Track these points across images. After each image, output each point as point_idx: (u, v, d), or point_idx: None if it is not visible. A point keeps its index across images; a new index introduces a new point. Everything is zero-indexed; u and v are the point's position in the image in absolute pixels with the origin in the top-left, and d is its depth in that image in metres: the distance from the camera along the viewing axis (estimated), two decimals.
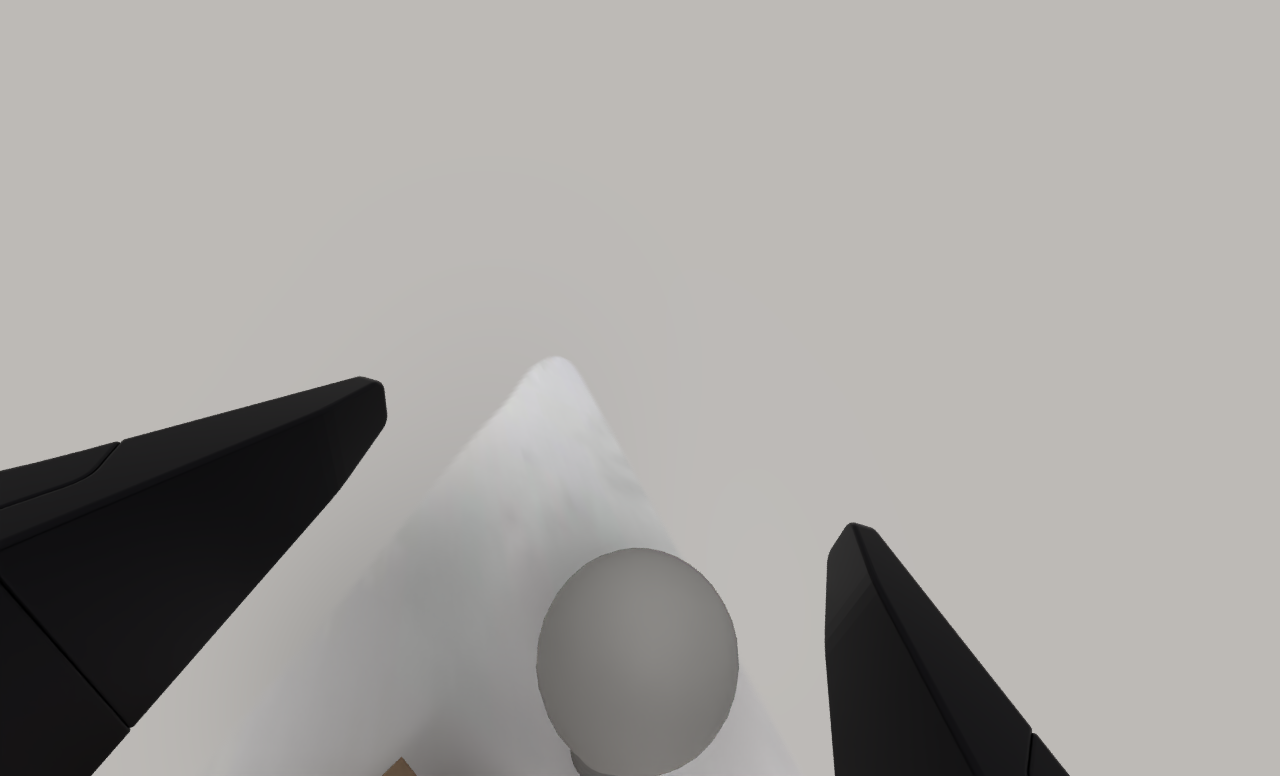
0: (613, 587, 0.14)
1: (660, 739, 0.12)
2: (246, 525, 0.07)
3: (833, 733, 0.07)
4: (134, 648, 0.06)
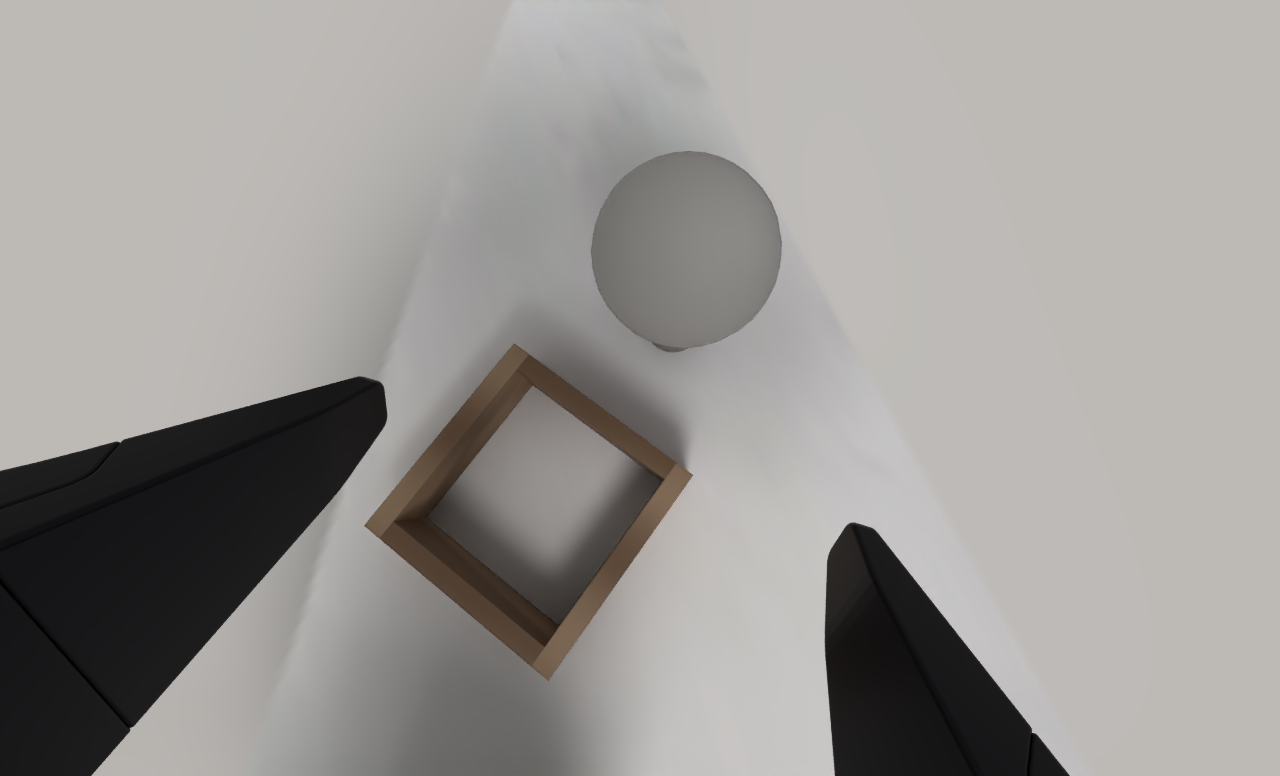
0: (648, 198, 0.14)
1: (701, 321, 0.14)
2: (246, 525, 0.07)
3: (833, 733, 0.07)
4: (134, 648, 0.06)
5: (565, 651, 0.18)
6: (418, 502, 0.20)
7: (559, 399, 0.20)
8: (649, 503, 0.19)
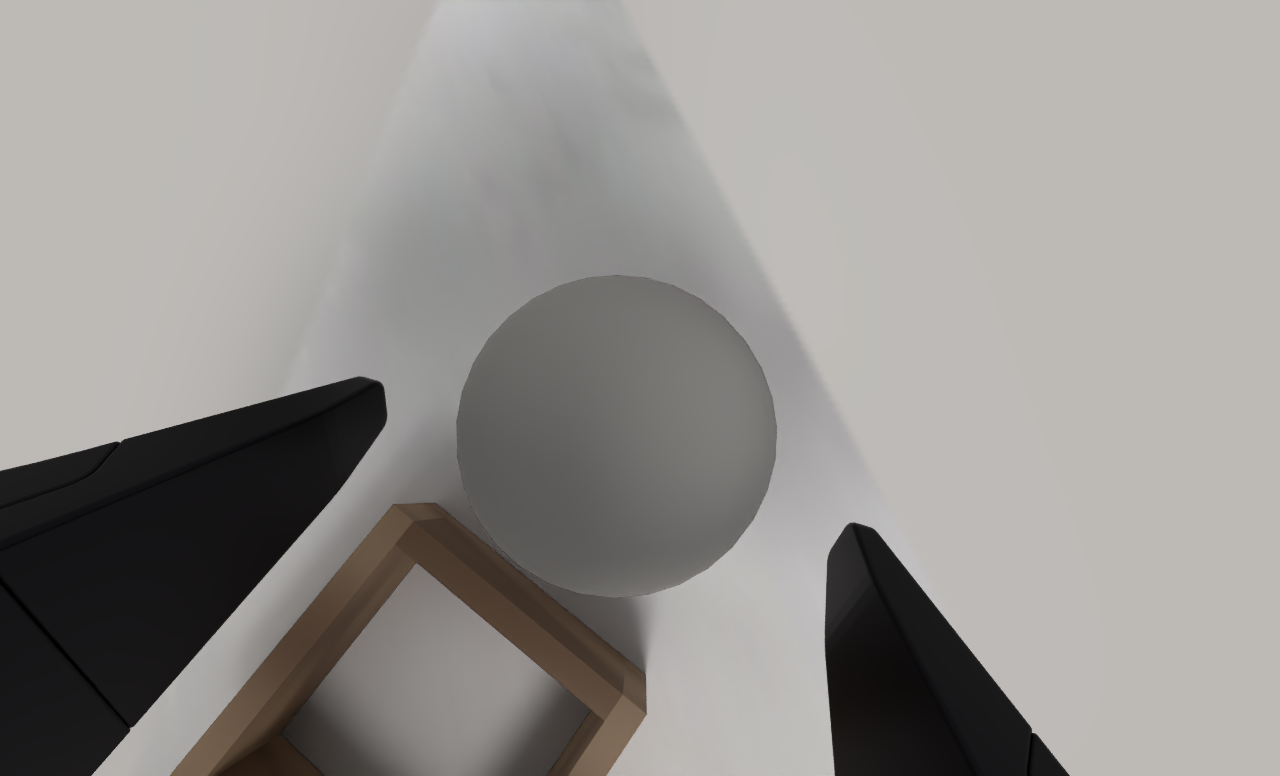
0: (525, 390, 0.07)
1: (632, 590, 0.08)
2: (246, 525, 0.07)
3: (833, 733, 0.07)
4: (134, 648, 0.06)
5: None
6: (248, 741, 0.14)
7: (454, 591, 0.14)
8: (580, 760, 0.13)
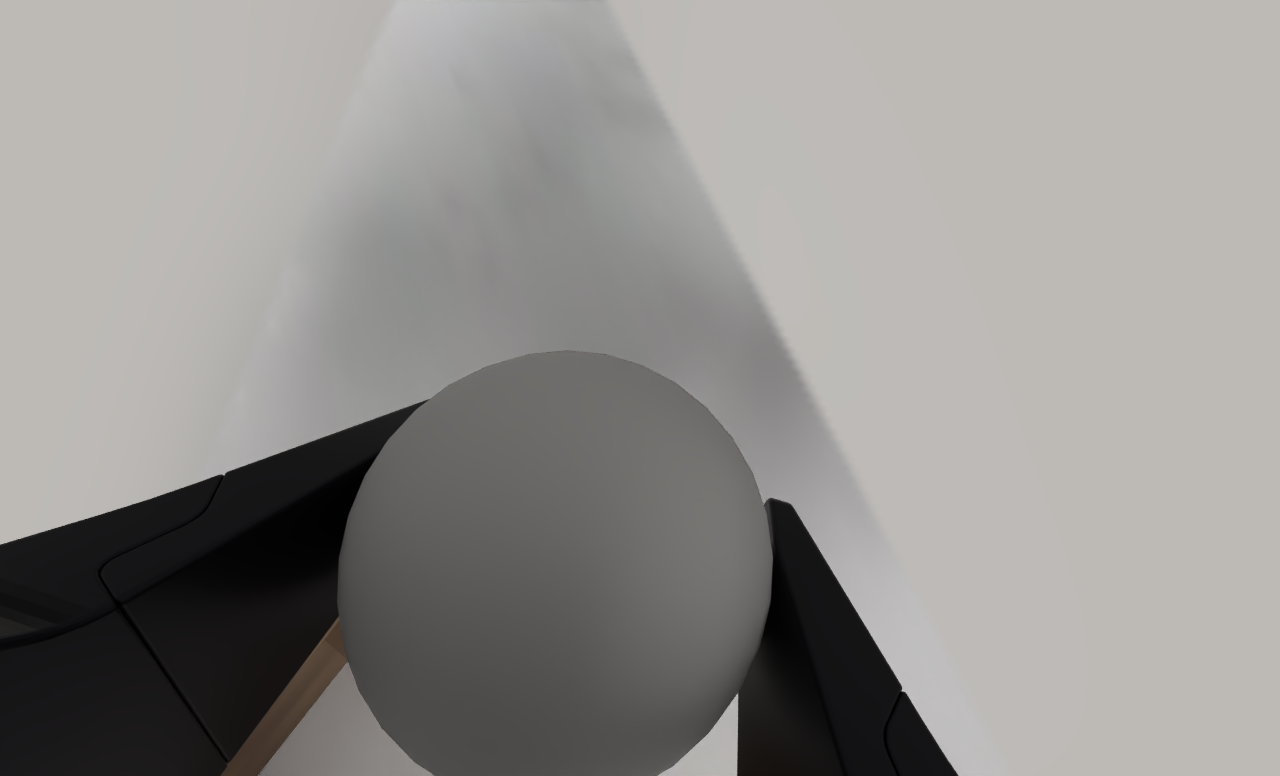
0: (404, 551, 0.05)
1: None
2: (337, 554, 0.07)
3: (739, 702, 0.07)
4: (238, 684, 0.06)
5: None
6: None
7: None
8: None
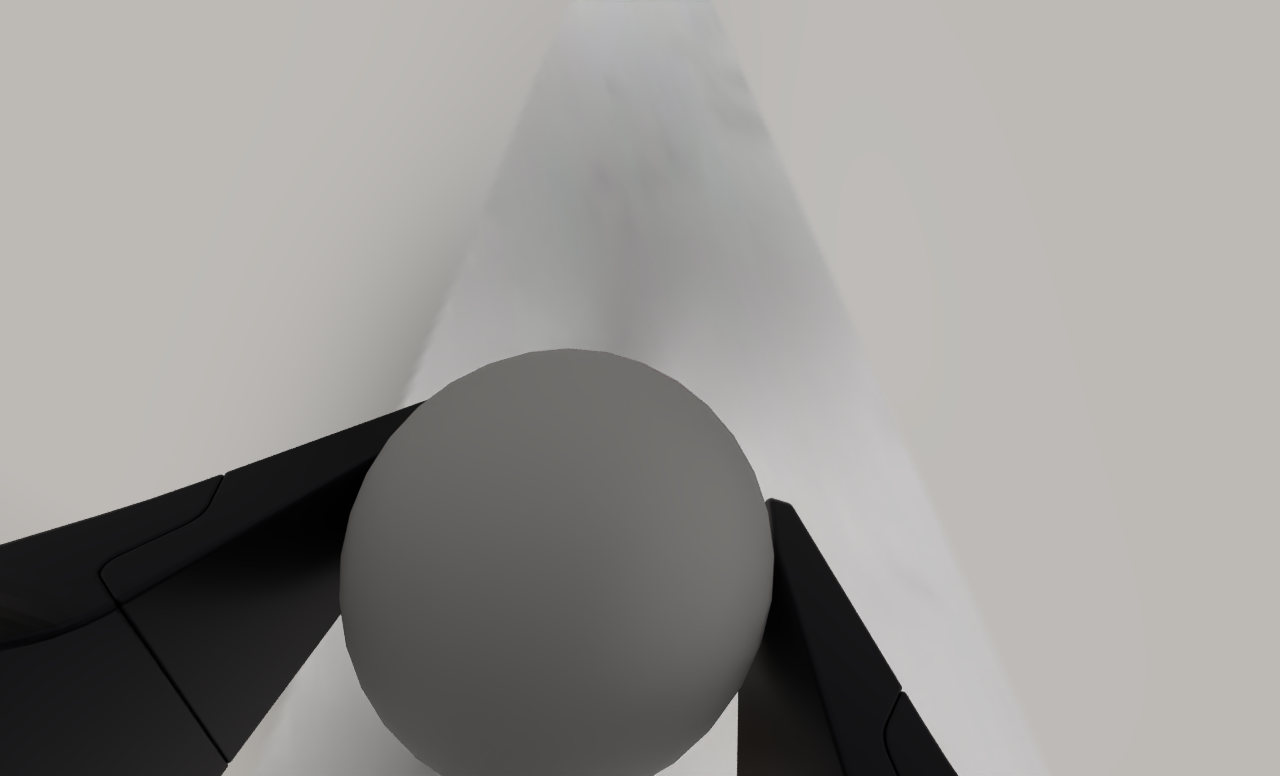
0: (407, 548, 0.05)
1: None
2: (337, 555, 0.07)
3: (739, 702, 0.07)
4: (237, 684, 0.06)
5: None
6: None
7: None
8: None
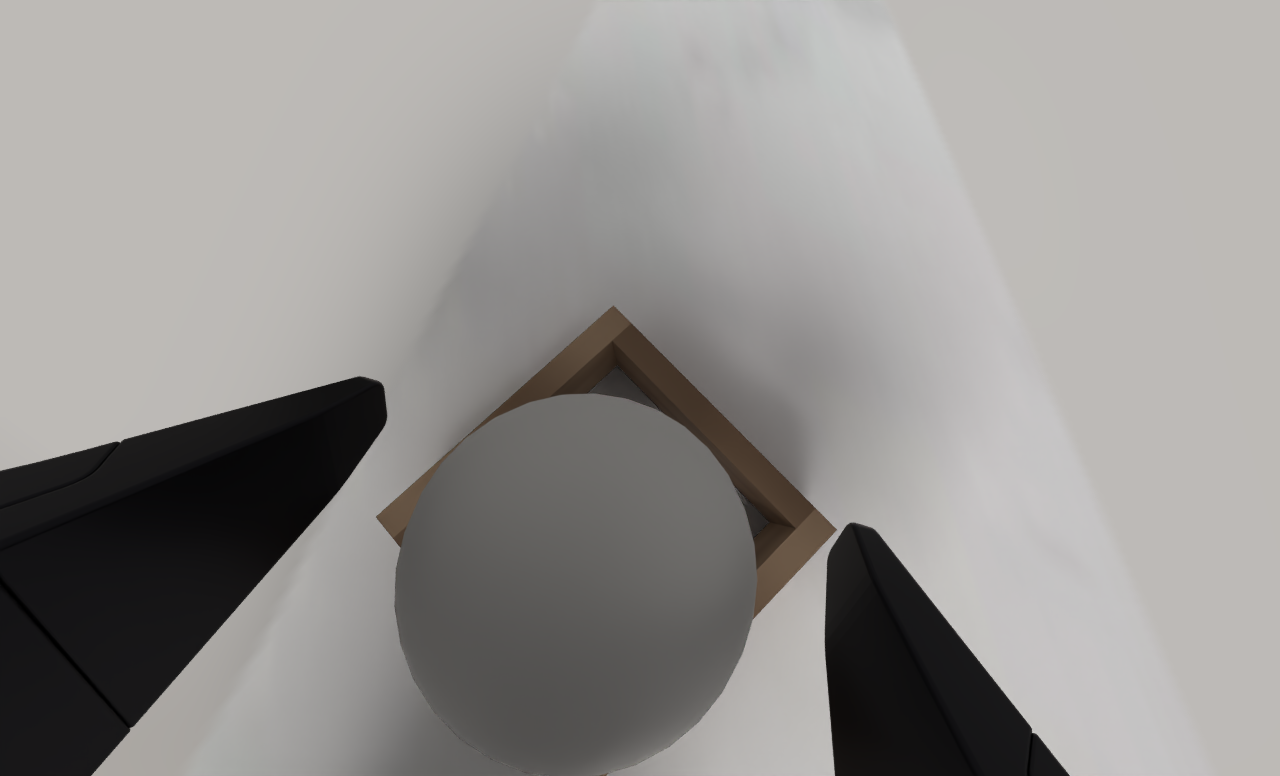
0: (469, 576, 0.06)
1: (586, 775, 0.07)
2: (246, 525, 0.07)
3: (833, 733, 0.07)
4: (134, 648, 0.06)
5: None
6: None
7: (663, 391, 0.15)
8: (770, 558, 0.14)
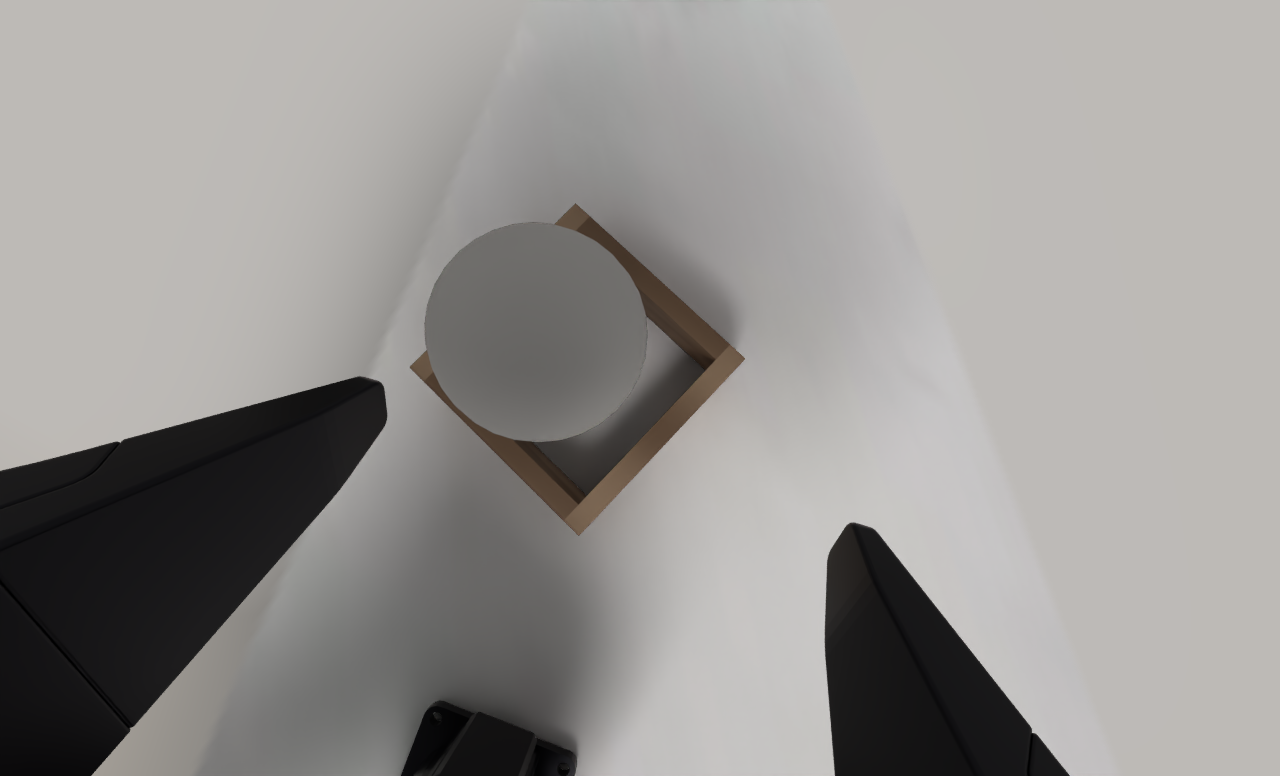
0: (462, 297, 0.11)
1: (540, 429, 0.13)
2: (246, 525, 0.07)
3: (833, 733, 0.07)
4: (134, 648, 0.06)
5: (598, 511, 0.18)
6: None
7: None
8: (697, 381, 0.19)
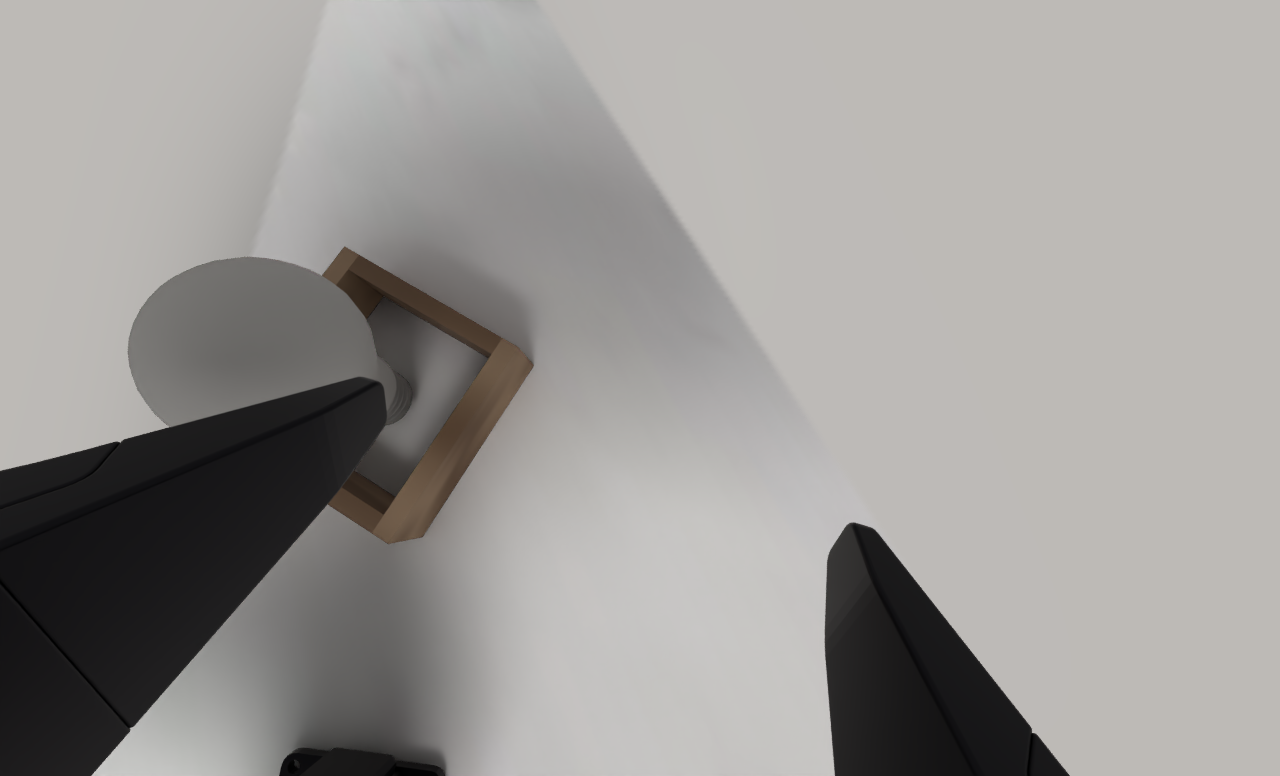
0: (139, 330, 0.13)
1: None
2: (246, 525, 0.07)
3: (833, 733, 0.07)
4: (134, 648, 0.06)
5: (403, 516, 0.19)
6: None
7: (389, 292, 0.21)
8: (478, 376, 0.20)
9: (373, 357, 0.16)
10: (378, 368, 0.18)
